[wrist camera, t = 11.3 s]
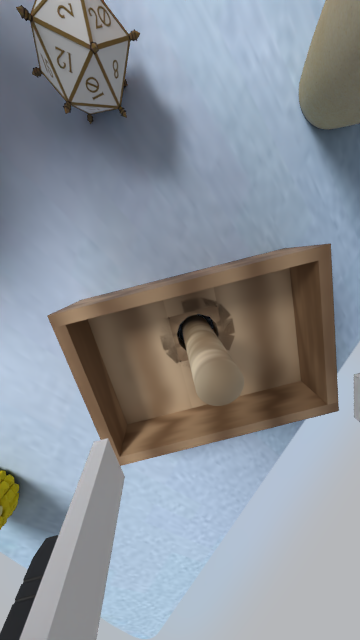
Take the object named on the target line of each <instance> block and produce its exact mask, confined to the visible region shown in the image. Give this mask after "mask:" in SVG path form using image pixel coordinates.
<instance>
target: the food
mask: <svg viewBox="0 0 360 640" xmlns="http://www.w3.org/2000/svg"><path fill="white" fill-rule="evenodd" d="M18 491H19V484H15V482H14V477H13V476H11V475H10V474H9V475H7V476H6V471H0V529H1V527H2V526H4V524H5V523H6V522H7V518H8V517H10V516H11V515H12V513H13V511H14V510H15V508H16V506H17V504H18V498H19V493H17V492H18Z"/></svg>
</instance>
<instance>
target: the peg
mask: <svg viewBox="0 0 360 640" xmlns="http://www.w3.org/2000/svg"><path fill="white" fill-rule="evenodd" d="M182 333H183V337H184V342H185V346H186V350H187V354H188V359H189V363H190V367H191V372H192V376H193V380H194V385H195V389H196V393H197V395H198V397H199V398H200V399H201V400H202V401H203V402H205V403H206V404H209V405H212V406H223V405H227V404H229V403H231V402H233V401H234V400H236V399H237V398H238V397H239V395H240V394H241V392H242V390H243V387H244V377H243V375H242V373H241V371H240V370H239V368H238V367H237V365H236V364H235V362H234V361H233V359H232V358H231V356H230V355H229V353H228V352H227V350H226V349H225V347H224V346H223V344H222V343H221V341H220V340H219V338H218V337H217V336H216V334H215V333H214V331H213V330H212V328H211V327H210V325H209V324H208V322H207V321H206V319H205V318H204V317H202V316H200V315H192V316H188V317H187V318H186V319H185V320H184V321H183V323H182Z"/></svg>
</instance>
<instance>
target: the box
mask: <svg viewBox="0 0 360 640" xmlns="http://www.w3.org/2000/svg"><path fill="white" fill-rule="evenodd" d="M196 314H201V315H205V316H209V317H210V318H211V319H212V322H213V326H214V328H213V331H214V333H215V334H216V336H217V337H218V338H219V340H220V341H221V343H222V344H223V346H224V347H225V349H226V350H227V352H228V353H229V355H230V356H231V358H232V359H233V361H234V362H235V364H236V365H237V367H238V368H239V370H240V371H241V373H242V375H243V377H244V387H243V390H242V392H241V394H240V395H239V397H238V398H237V399H236V400H234V401H233V402H231V403H229V404H227V405H223V406H212V405H209V404H206V403H205V402H203V401H202V400H201V399H200V398H199V397H198V395H197V393H196V389H195V385H194V380H193V376H192V372H191V367H190V363H189V359H188V354H187V350H186V346H185V343H184V342H183V341H182V340H181V339H180V338H179V337H178V334H177V332H178V328H179V325H180V324H181V323H182V322H183V321H184V320H185V319H186V318H187V317H188V316H192V315H196ZM48 318H49V321H50V323H51V325H52V328H53V330H54V332H55V335H56V337H57V339H58V342H59V344H60V346H61V349H62V351H63V353H64V355H65V358H66V360H67V362H68V365H69V367H70V369H71V372H72V374H73V376H74V379H75V381H76V383H77V386H78V388H79V390H80V393H81V395H82V397H83V400H84V402H85V404H86V407H87V409H88V411H89V414H90V416H91V418H92V420H93V423H94V425H95V427H96V430H97V432H98V434H99V437H100V439H101V440H103V439H107V438H108V439H109V441H110V444H111V446H112V448H113V451H114V453H115V455H116V458H117V460H118V462H119V465H120V466H121V465H125V464H129V463H133V462H137V461H141V460H145V459H149V458H153V457H157V456H161V455H165V454H169V453H173V452H177V451H181V450H185V449H189V448H193V447H197V446H201V445H205V444H209V443H213V442H217V441H221V440H225V439H229V438H233V437H237V436H241V435H245V434H249V433H253V432H257V431H261V430H264V429H268V428H272V427H276V426H280V425H284V424H288V423H292V422H296V421H300V420H304V419H308V418H312V417H316V416H320V415H324V414H328V413H332V412H336V411H338V410H339V407H338V388H337V366H336V345H335V324H334V303H333V282H332V261H331V244H322V245H313V246H303V247H293V248H284V249H280V250H276V251H272V252H268V253H264V254H260V255H256V256H252V257H248V258H244V259H241V260H237V261H233V262H229V263H225V264H221V265H217V266H213V267H209V268H205V269H201V270H197V271H193V272H190V273H186V274H182V275H178V276H174V277H170V278H166V279H162V280H158V281H154V282H150V283H146V284H142V285H138V286H135V287H131V288H127V289H123V290H119V291H115V292H111V293H107V294H103V295H99V296H95V297H91V298H87V299H84V300H80V301H78V302H76V303H74V304H72V305H69V306H67V307H65V308H63V309H61V310H59V311H57V312H54V313H52V314H50V315H48Z"/></svg>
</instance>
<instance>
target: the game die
mask: <svg viewBox="0 0 360 640" xmlns="http://www.w3.org/2000/svg"><path fill="white" fill-rule="evenodd" d="M16 8H17V10H18V12H19V13H20V15H21V17H22V19H23V18H24V19H25V20H26V21H27V20H29V21H30V22H31V27H32V32H33V37H34V42H35V47H36V52H37V57H38V62H39V68H37V67H35V68H33V72H32V74H33V75H35V76H37V77H38V76H41V74H43V75H44V76H45V77H46V78H47V80H48V81H49V82H50V83H51V84H52V85H53V87H54V88H55V89H56V90H57V91H58V92H59V94H60V95H61V96H62V97H63V98H64V99H65V100H66V103H65V104H64V105H65V106H63V107H64V109H65V113H66V114H67V113H69V112H70V110H71V105H72V106H74V107H76V108H78V109H80V110H82V111H84V112H86V113H88V115H87V118H88V121H89V122H90V124H91V123H92V121H93V117H92V114H95V113H100V112H105V111H110V110H115V109H119V111H120V113H121V116H124V117H126V118H127V116H126V111H125V110H124V108H122V107H121V102H122V95H123V88H124V87H125V86H127V82H126V79H125V74H126V67H127V60H128V53H129V46H130V41H131V40H132V41H134V40H136V41H137V39H138V37H139V35H140V33H139V32H137V31H135V29H134V31H131V33H130V34H128V33H127V31H126V30H125V29H124V27H123V26H122V25H121V23H120V22H119V21H118V19H117V18H116V17H115V15H114V14H113V13H112V11H111V10H110V9H109V8H108V6H107V5H106V4H105V2H104V0H35V3H34V5H33V8H32V11H31V14H30V13H29V12H28V10H27V9H26V8H24V7H23V6H22V5H21V6H20V7H16Z"/></svg>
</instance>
